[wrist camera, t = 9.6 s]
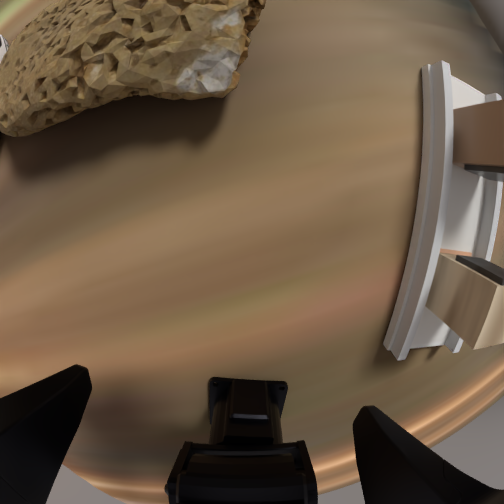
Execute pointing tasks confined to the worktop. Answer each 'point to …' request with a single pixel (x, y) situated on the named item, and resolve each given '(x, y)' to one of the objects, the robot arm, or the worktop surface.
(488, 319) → the beige block
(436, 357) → the worktop surface
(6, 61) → the sponge
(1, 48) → the milk container
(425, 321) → the rail
